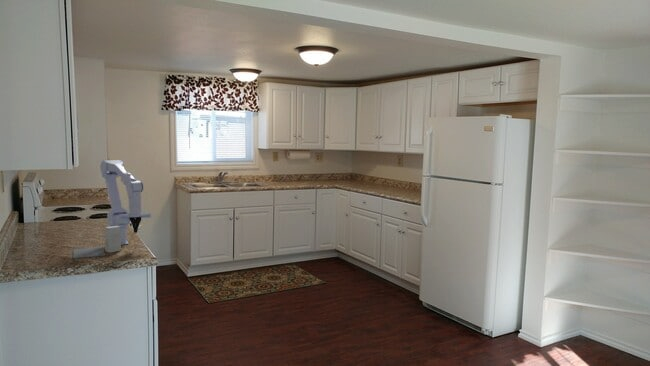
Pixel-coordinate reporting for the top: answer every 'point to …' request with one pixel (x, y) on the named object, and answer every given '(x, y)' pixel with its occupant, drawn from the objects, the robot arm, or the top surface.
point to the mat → (88, 252)
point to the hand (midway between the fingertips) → (135, 232)
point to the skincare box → (112, 239)
